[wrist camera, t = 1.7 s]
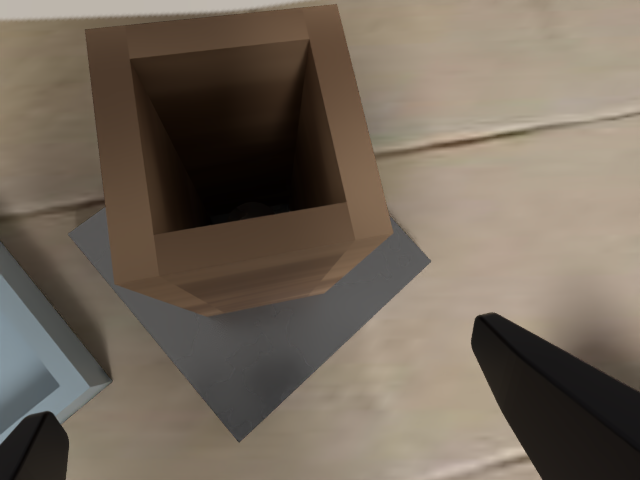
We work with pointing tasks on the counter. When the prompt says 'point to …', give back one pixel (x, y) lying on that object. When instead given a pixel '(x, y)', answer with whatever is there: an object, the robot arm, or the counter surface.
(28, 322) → the slate tray
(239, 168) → the walnut collar
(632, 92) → the counter surface
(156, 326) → the plate
